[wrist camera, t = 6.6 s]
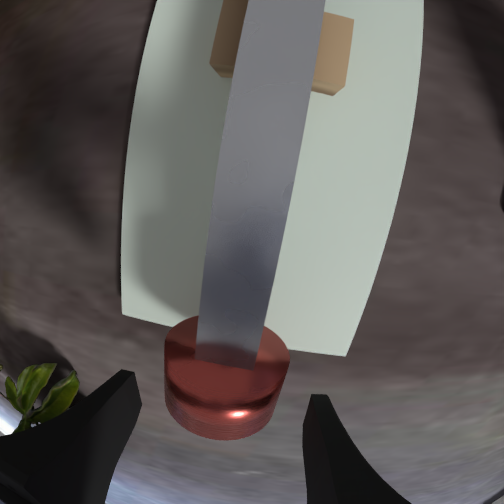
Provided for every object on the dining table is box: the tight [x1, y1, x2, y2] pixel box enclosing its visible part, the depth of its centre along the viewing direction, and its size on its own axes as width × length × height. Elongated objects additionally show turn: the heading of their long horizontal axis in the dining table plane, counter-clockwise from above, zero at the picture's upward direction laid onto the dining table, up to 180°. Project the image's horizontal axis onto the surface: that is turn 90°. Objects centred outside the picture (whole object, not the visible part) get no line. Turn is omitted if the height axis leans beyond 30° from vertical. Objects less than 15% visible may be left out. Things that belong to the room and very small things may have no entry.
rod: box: [164, 0, 326, 440], centre depth 10 cm, size 5×21×5 cm, turn 171°
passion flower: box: [0, 363, 80, 434], centre depth 19 cm, size 11×11×12 cm
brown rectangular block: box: [209, 0, 354, 96], centre depth 10 cm, size 5×3×2 cm, turn 81°
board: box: [121, 0, 424, 356], centre depth 12 cm, size 13×27×1 cm, turn 170°
